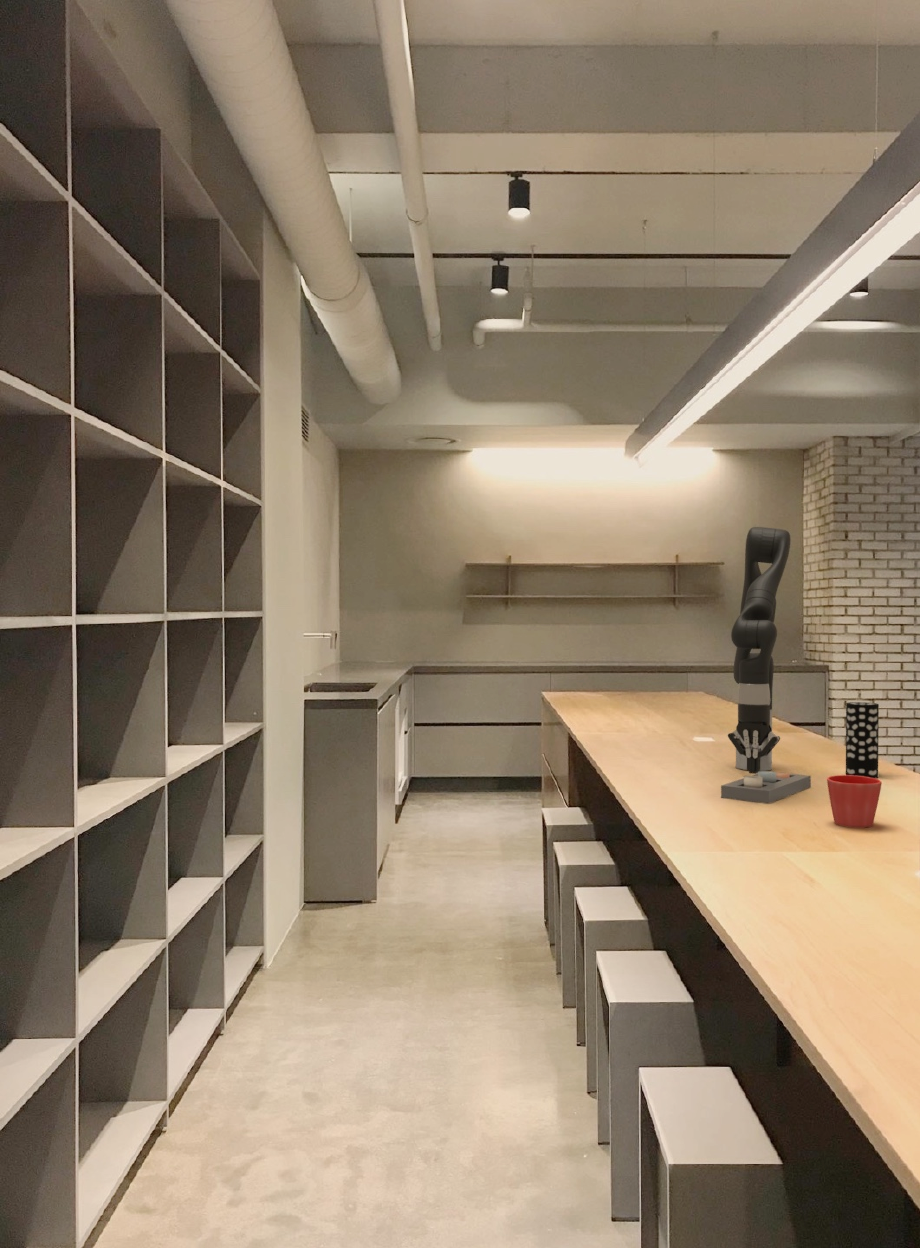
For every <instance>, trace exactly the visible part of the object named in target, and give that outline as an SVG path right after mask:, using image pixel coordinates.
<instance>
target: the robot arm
mask: <svg viewBox="0 0 920 1248" xmlns="http://www.w3.org/2000/svg"><path fill="white" fill-rule="evenodd" d="M791 541H792V540H791V535H790V532H789V531H788V530H786V529H783V528H782V529H781V528H774V527H764V526H752V527H751V528H750V529H749V530H748V533H747V535H746V539H745V548H744V549H745V550H744V551H745V553H744V555H745V557H744V579H743V588H742V595H741V601H740V612H739V613H740V614H739V615H738V617H737V618H736V620H735V621H734V623H733V626H732V627H731V628H732V629H731V634H730V637H731V638H730V639H731V641H732V644H733V645H734V646H735V647H736V650H735V656H734V662H733V669H732V670H733V679H734V681H735V683H736V684H738V692H737V725H736V727H735V728H736V729H734V731H733V732H731V733H728V734H727V737H728V739H729V740H730V742H731V743H732V745H733V746H734V747H735V769H739V770H744V771H748V773H749V774H752V775H755V774H758V772H759V771H771V770H772V769H773V749H774V748H775V747H776V745H777V744H778V743H779V741H781V737H780V736H779V735H776V734H775V733H774V732H773V686H774V685H773V683H774V666H775V664H774V659H773V656H772V654H773V650H774V647H775V644H776V641H777V637H778V630H777V627H776V625H775V623H774V622H775V616H776V610H777V600H776V596H777V593H778V592H777V591H778V588H779V586H780V583H781V581H782V577H783V573H784V572H785V568H786V565H787V562H788V560H789V555H790V548H791ZM759 563H761V564H762V563H764V564H770V566H769V567H768V569H766V570H765V571H764V572H763V573H762V572H761V569H760V565H759ZM752 650H760V652H751V651H752Z"/></svg>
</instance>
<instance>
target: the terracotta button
mask: <svg viewBox="0 0 920 1248" xmlns="http://www.w3.org/2000/svg"><path fill="white" fill-rule="evenodd" d="M775 772H776V777H779V778H790V774H791V773H789V774H788V772H779V771H778V772H777V771H775Z"/></svg>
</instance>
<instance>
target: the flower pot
mask: <svg viewBox="0 0 920 1248" xmlns="http://www.w3.org/2000/svg"><path fill="white" fill-rule="evenodd" d="M826 783H827V789H828V796H829V797H828V798H829V802H830V808H831V813H832V817H833V823H835V825H837V826H840V827H845V828H853V829H854V828H857V829H863V828H870V827H873V826H874V821H875V817H876V814H877V813H876V812H877V808H878V805H879V800H880V794H881V790H882V784H883V783H882V781H881V780H880V779H878V778H870V777H864V776H854V775H846V774H841V775H839V774H837V775H830V776H828V777H827V778H826Z"/></svg>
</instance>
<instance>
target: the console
mask: <svg viewBox="0 0 920 1248" xmlns="http://www.w3.org/2000/svg"><path fill="white" fill-rule="evenodd" d="M787 773H788V772H787ZM788 774H790V778H779V777H776V783H768V782H762V788H754V787H745V786H744V777H743V778H740V779H737V780H733V781H731V782H728V783H725V784H722V785H721V786H720V790H721V791H720V797H721V799H729V800H737V801H746V802H752V803H761V804H772V803H774V802H776V801H780V800H782V799H784V798H788V797H789V796H792V795H794V794H797V793H799V792H800V793H801V792H802V791H805V790H807V789H809V788H811V777H812V776H811V775H807V774H797V773H788ZM751 776H758V773H756V774H752V775H751Z"/></svg>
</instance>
